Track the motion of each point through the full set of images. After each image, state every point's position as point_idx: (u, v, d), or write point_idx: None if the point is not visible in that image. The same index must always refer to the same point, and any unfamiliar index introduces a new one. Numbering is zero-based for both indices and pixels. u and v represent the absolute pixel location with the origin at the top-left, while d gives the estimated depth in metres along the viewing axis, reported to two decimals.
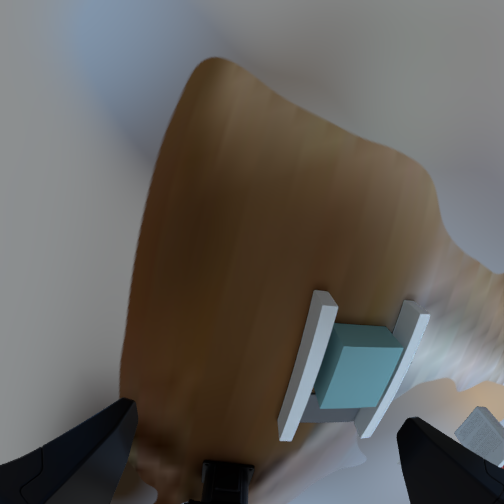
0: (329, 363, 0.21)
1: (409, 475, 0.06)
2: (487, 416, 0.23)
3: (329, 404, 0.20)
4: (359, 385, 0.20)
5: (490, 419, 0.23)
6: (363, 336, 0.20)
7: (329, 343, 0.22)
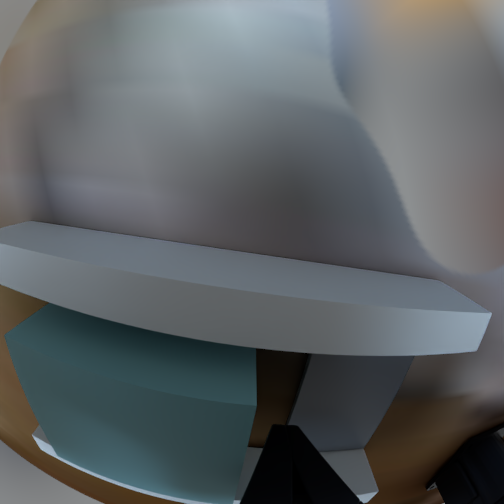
0: None
1: None
2: None
3: (217, 496, 0.06)
4: (139, 454, 0.05)
5: None
6: None
7: None
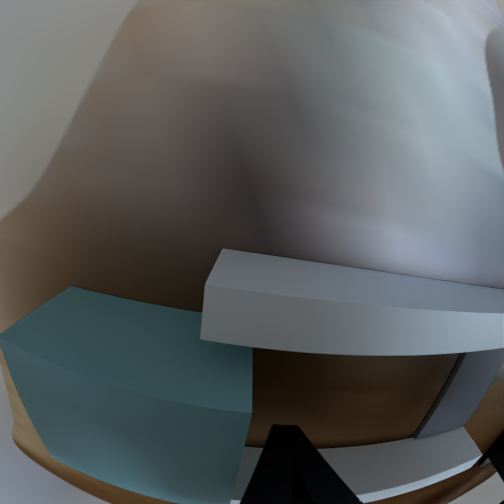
0: None
1: None
2: None
3: (213, 501, 0.06)
4: (133, 459, 0.05)
5: None
6: None
7: None
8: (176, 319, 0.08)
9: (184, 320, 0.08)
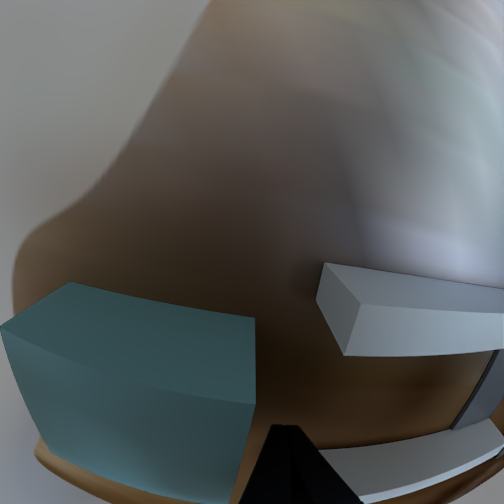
0: None
1: None
2: None
3: (212, 497, 0.06)
4: (134, 452, 0.05)
5: None
6: None
7: None
8: (179, 313, 0.08)
9: (187, 314, 0.08)
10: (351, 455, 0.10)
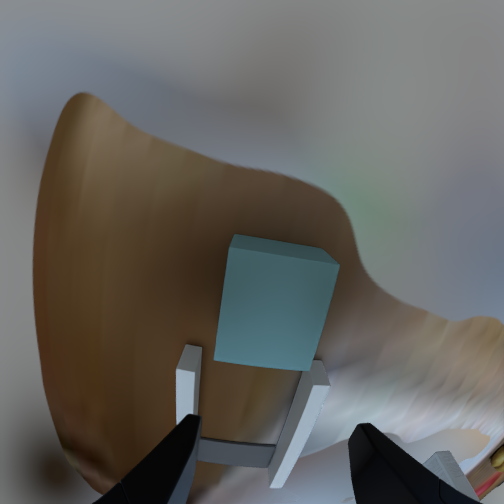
0: None
1: (357, 486, 0.05)
2: (446, 464, 0.21)
3: (227, 354, 0.15)
4: (270, 326, 0.14)
5: (449, 468, 0.20)
6: (274, 247, 0.15)
7: None
8: None
9: None
10: (198, 390, 0.19)
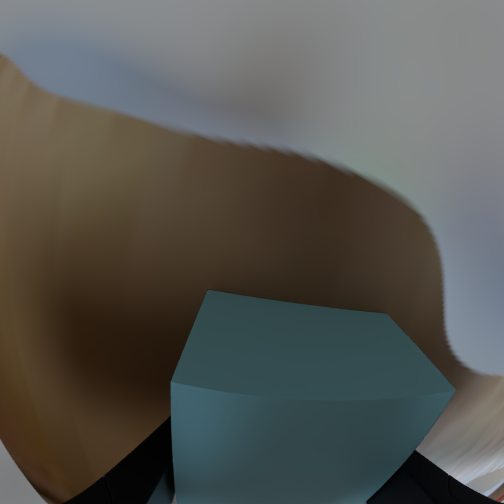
0: None
1: None
2: None
3: None
4: (283, 496, 0.05)
5: None
6: (302, 345, 0.05)
7: None
8: None
9: None
10: None
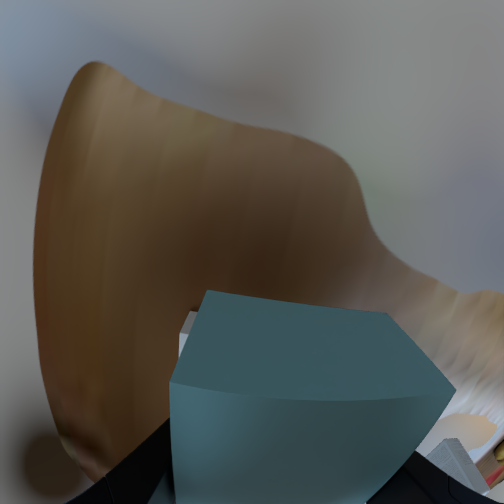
0: None
1: None
2: (455, 452, 0.20)
3: None
4: (283, 497, 0.05)
5: (458, 455, 0.20)
6: (302, 345, 0.05)
7: None
8: None
9: None
10: None
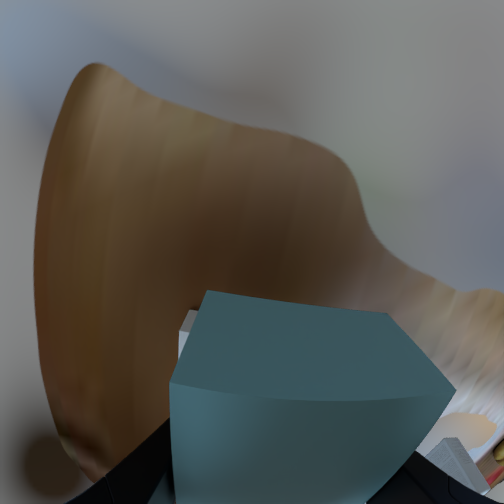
0: None
1: None
2: (455, 451, 0.20)
3: None
4: (283, 497, 0.05)
5: (458, 454, 0.20)
6: (302, 346, 0.05)
7: None
8: None
9: None
10: None
